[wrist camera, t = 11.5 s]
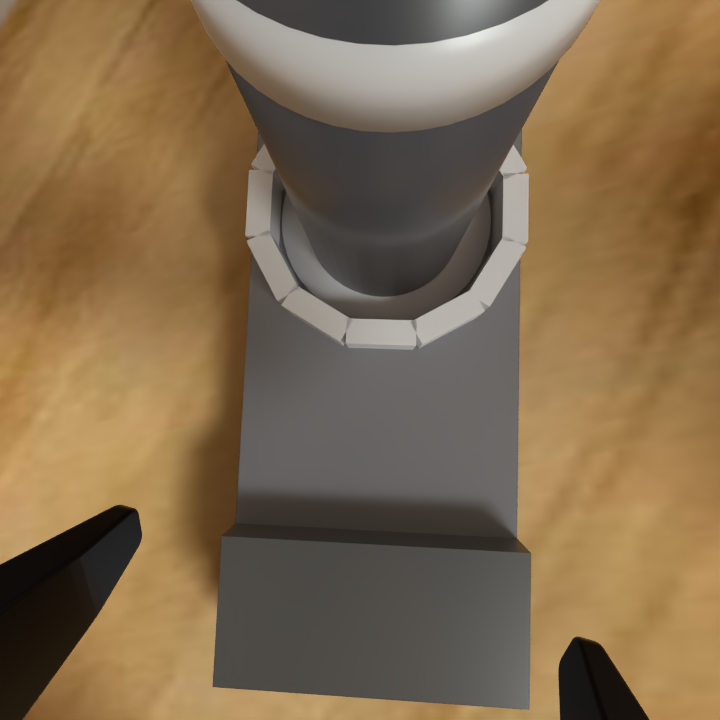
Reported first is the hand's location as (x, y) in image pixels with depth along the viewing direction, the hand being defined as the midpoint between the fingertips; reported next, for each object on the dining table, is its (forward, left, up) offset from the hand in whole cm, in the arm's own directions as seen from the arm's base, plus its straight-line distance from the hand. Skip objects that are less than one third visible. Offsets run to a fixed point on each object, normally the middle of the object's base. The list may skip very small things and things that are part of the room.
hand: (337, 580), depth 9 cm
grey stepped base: (+1, +5, -10) cm, 11 cm away
